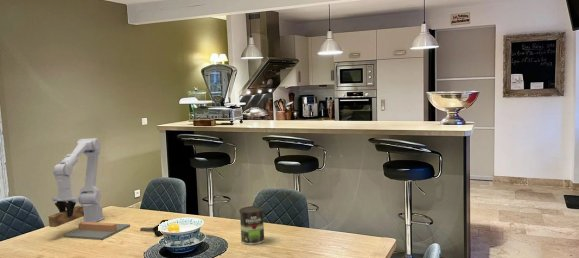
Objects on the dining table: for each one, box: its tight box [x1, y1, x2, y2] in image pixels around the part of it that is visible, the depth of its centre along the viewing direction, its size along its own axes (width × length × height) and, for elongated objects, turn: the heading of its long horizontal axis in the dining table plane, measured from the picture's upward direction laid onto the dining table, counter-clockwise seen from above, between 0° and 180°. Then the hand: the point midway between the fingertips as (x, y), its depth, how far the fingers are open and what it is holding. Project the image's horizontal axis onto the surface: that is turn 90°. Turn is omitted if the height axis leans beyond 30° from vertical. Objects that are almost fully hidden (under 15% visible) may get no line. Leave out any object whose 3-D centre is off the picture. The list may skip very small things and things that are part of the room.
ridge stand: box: [63, 221, 131, 241], centre depth 217 cm, size 20×22×4 cm
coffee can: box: [239, 205, 265, 246], centre depth 193 cm, size 10×10×14 cm
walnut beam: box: [48, 205, 84, 228], centre depth 215 cm, size 18×4×5 cm, turn 162°
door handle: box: [139, 219, 169, 237], centre depth 216 cm, size 3×20×16 cm
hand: (66, 216), depth 215 cm, fingers closed on walnut beam, 3 cm apart
